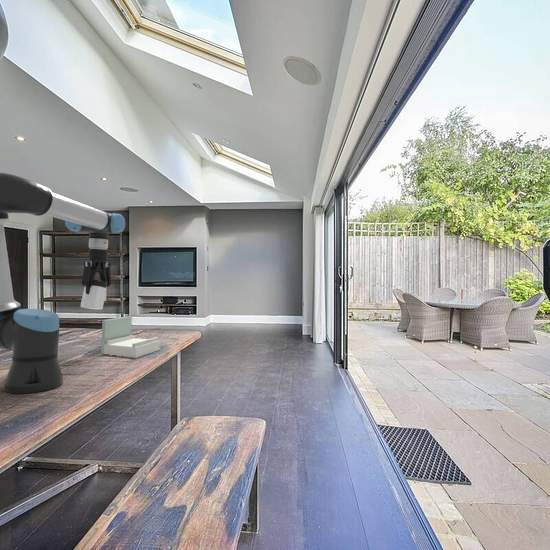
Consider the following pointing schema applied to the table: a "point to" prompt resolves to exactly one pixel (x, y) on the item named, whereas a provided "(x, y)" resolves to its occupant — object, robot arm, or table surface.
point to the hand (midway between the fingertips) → (96, 301)
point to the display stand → (125, 339)
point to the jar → (94, 295)
